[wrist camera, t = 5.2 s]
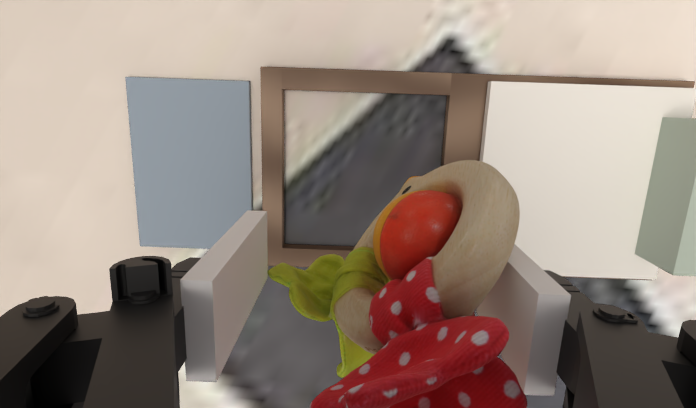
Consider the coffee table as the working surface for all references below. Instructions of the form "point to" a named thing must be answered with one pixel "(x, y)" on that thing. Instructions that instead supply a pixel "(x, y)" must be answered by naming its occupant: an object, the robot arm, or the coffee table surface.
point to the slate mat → (189, 158)
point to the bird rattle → (419, 296)
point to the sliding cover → (598, 175)
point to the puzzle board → (460, 89)
